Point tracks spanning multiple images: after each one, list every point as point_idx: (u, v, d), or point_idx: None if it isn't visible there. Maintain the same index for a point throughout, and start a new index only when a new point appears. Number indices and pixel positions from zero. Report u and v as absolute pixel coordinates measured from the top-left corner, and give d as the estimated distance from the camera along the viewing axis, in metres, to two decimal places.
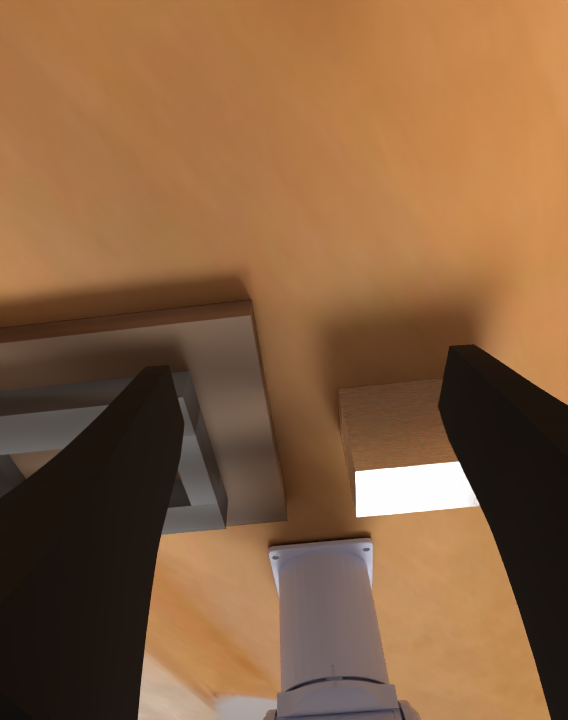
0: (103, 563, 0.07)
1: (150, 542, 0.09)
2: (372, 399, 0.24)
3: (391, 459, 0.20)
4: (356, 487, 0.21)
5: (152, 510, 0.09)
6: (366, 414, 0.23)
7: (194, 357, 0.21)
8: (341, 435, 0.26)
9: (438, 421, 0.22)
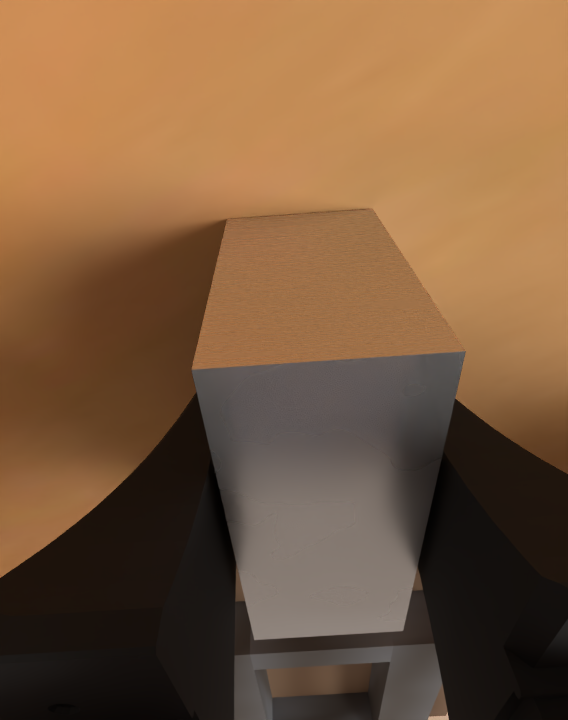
0: (213, 556, 0.07)
1: None
2: None
3: None
4: (304, 634, 0.10)
5: None
6: None
7: None
8: None
9: None
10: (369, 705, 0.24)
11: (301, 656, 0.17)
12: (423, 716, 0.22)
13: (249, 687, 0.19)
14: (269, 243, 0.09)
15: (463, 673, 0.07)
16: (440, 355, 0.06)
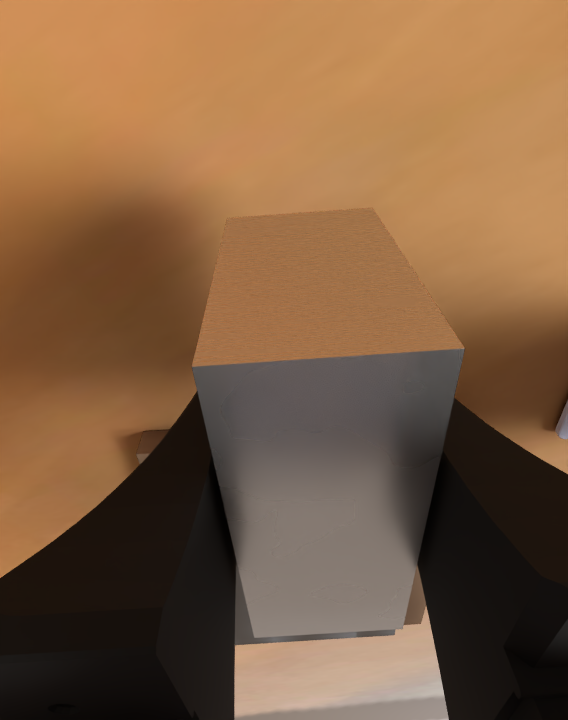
0: (213, 556, 0.07)
1: None
2: None
3: None
4: (304, 632, 0.10)
5: None
6: None
7: None
8: None
9: None
10: None
11: None
12: None
13: None
14: (269, 242, 0.09)
15: (463, 673, 0.07)
16: (439, 352, 0.06)
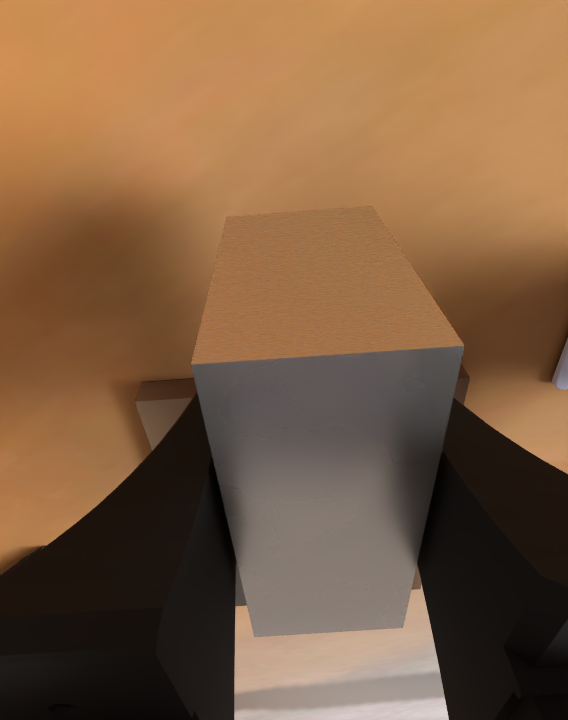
0: (213, 556, 0.07)
1: None
2: None
3: None
4: (304, 631, 0.10)
5: None
6: None
7: None
8: None
9: None
10: None
11: None
12: None
13: None
14: (268, 240, 0.09)
15: (462, 673, 0.07)
16: (439, 349, 0.06)
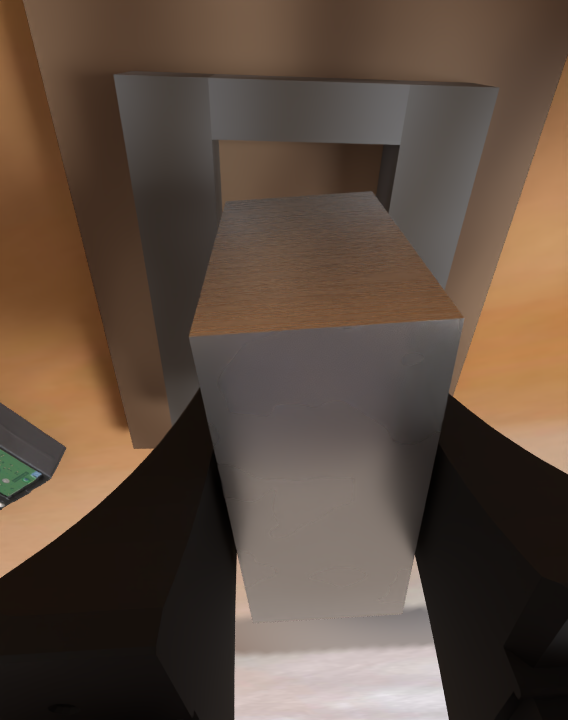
0: (213, 556, 0.07)
1: (233, 537, 0.09)
2: None
3: None
4: (303, 617, 0.10)
5: None
6: None
7: (103, 51, 0.13)
8: None
9: None
10: None
11: (280, 100, 0.12)
12: None
13: (204, 207, 0.14)
14: (268, 223, 0.09)
15: (463, 673, 0.07)
16: (439, 322, 0.06)
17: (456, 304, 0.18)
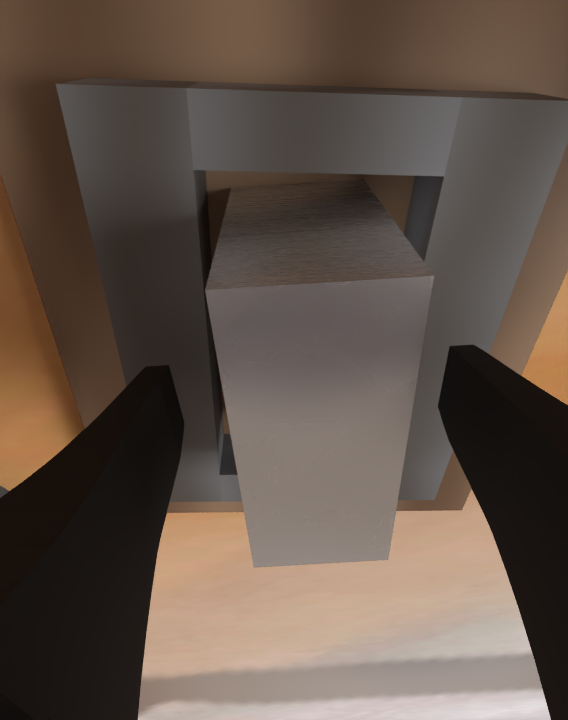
0: (103, 563, 0.07)
1: (150, 542, 0.09)
2: None
3: None
4: (299, 562, 0.11)
5: (152, 510, 0.09)
6: None
7: (49, 52, 0.10)
8: None
9: None
10: None
11: (285, 119, 0.09)
12: None
13: (185, 254, 0.10)
14: (270, 204, 0.10)
15: None
16: (413, 279, 0.07)
17: (496, 358, 0.15)
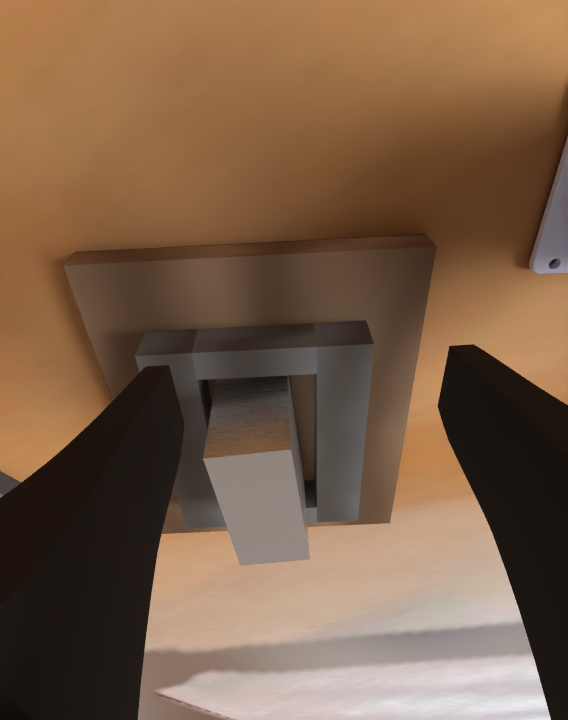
0: (103, 563, 0.07)
1: (150, 542, 0.09)
2: None
3: None
4: (263, 562, 0.22)
5: (152, 510, 0.09)
6: None
7: (126, 324, 0.20)
8: None
9: None
10: (314, 487, 0.27)
11: (237, 359, 0.19)
12: (357, 473, 0.24)
13: (196, 411, 0.21)
14: (235, 387, 0.20)
15: None
16: (283, 450, 0.17)
17: (384, 435, 0.25)
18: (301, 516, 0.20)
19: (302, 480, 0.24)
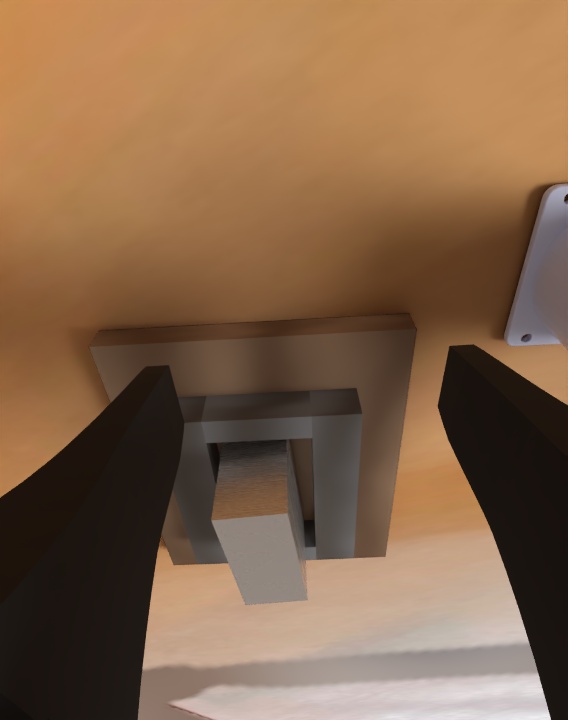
0: (103, 563, 0.07)
1: (150, 542, 0.09)
2: None
3: None
4: (266, 602, 0.24)
5: (152, 510, 0.09)
6: None
7: None
8: None
9: None
10: (313, 527, 0.29)
11: (241, 426, 0.22)
12: (351, 518, 0.26)
13: (205, 468, 0.24)
14: (240, 448, 0.23)
15: None
16: (281, 514, 0.19)
17: (377, 482, 0.27)
18: (298, 565, 0.22)
19: (301, 525, 0.26)
